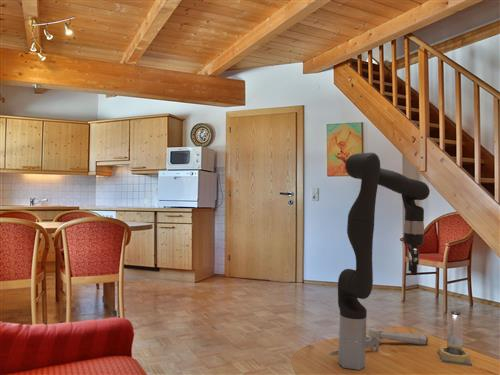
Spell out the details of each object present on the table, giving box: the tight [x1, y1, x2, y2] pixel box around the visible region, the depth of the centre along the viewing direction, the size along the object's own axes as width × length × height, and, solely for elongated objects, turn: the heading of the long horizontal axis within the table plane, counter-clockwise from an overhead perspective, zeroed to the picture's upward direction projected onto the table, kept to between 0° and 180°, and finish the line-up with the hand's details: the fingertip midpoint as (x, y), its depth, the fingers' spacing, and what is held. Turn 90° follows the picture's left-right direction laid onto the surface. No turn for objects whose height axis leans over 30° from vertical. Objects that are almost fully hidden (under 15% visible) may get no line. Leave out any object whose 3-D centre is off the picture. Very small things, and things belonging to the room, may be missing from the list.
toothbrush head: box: [366, 327, 429, 346], centre depth 168 cm, size 5×7×25 cm
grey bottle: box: [446, 310, 464, 355], centre depth 154 cm, size 5×5×17 cm
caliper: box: [329, 335, 380, 356], centre depth 157 cm, size 20×1×6 cm, turn 105°
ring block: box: [437, 345, 473, 367], centre depth 154 cm, size 10×10×3 cm
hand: (412, 273), depth 163 cm, fingers open, 8 cm apart
